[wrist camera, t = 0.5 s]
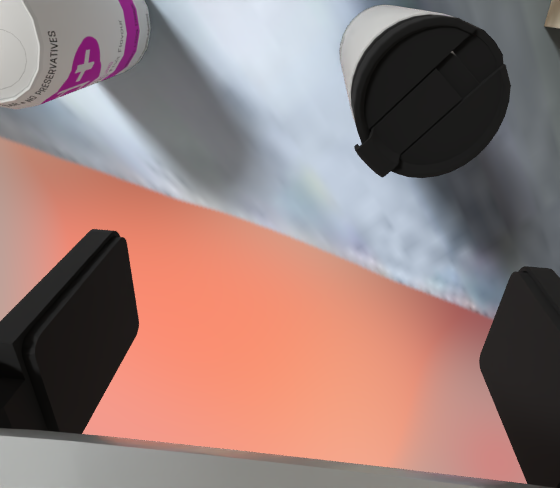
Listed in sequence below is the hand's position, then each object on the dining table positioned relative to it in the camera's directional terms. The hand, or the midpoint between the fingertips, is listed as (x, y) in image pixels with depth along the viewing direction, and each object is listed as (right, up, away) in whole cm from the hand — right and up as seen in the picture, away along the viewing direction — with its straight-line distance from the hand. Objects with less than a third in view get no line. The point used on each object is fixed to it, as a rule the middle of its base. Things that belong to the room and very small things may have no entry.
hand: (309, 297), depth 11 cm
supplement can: (-15, +20, +24) cm, 34 cm away
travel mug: (+7, +17, +24) cm, 30 cm away
